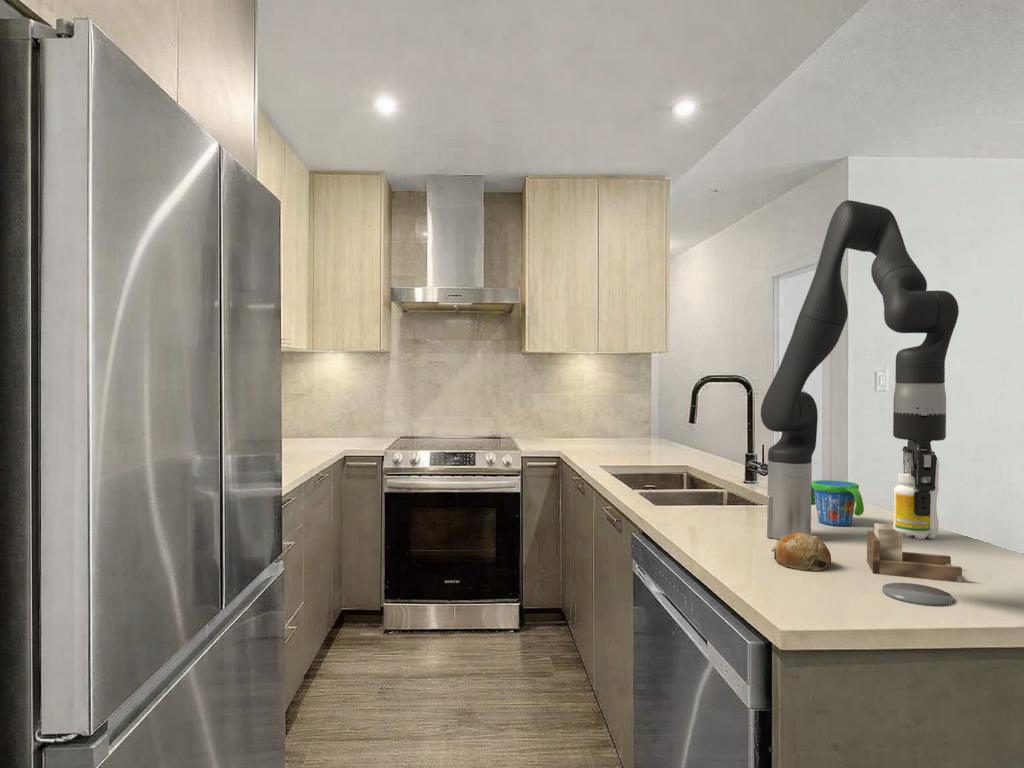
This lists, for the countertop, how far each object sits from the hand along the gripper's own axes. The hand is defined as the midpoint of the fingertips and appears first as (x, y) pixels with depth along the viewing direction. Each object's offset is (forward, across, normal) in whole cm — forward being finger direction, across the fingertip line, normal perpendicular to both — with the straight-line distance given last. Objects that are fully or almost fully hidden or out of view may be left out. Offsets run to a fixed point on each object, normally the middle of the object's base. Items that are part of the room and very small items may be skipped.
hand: (918, 511), depth 111 cm
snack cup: (+14, -56, -8) cm, 58 cm away
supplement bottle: (+4, 0, -1) cm, 4 cm away
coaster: (+14, 0, 0) cm, 14 cm away
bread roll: (+14, -13, -18) cm, 26 cm away
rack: (+14, -16, +2) cm, 21 cm away
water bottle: (+14, -48, +9) cm, 51 cm away
